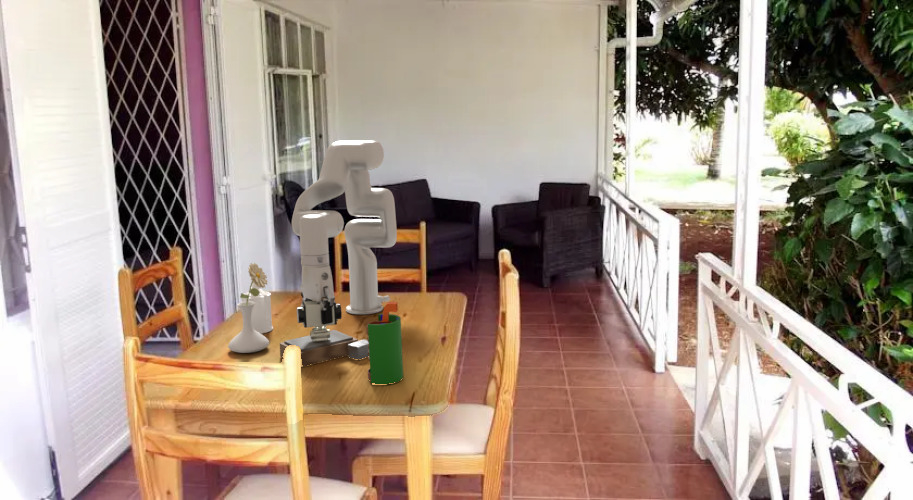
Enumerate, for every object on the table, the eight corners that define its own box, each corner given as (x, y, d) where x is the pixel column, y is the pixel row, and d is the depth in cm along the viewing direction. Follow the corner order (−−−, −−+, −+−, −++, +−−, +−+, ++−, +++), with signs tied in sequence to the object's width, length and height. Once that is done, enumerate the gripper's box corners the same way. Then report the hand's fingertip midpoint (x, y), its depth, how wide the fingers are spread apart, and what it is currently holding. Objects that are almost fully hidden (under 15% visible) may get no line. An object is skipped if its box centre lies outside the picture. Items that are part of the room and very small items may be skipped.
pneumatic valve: (342, 340, 203) (341, 298, 201) (300, 345, 199) (297, 302, 197) (339, 335, 208) (337, 294, 206) (297, 339, 205) (295, 297, 203)
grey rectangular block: (364, 352, 207) (363, 339, 207) (374, 355, 205) (373, 341, 204) (348, 358, 203) (347, 344, 202) (358, 361, 200) (357, 347, 200)
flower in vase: (247, 358, 203) (242, 270, 198) (220, 352, 209) (213, 266, 204) (282, 346, 214) (277, 262, 209) (254, 340, 220) (249, 258, 215)
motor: (368, 372, 191) (366, 298, 187) (403, 371, 192) (401, 296, 188) (367, 386, 181) (364, 308, 177) (403, 385, 182) (401, 306, 178)
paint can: (236, 330, 230) (232, 268, 226) (262, 324, 237) (258, 263, 233) (255, 337, 223) (251, 273, 219) (281, 330, 230) (277, 268, 226)
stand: (336, 343, 216) (335, 328, 215) (358, 353, 207) (357, 337, 206) (280, 356, 204) (279, 341, 203) (301, 367, 195) (300, 351, 194)
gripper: (343, 262, 197) (346, 323, 200) (311, 253, 209) (314, 311, 213) (319, 266, 192) (322, 329, 195) (287, 257, 205) (291, 316, 208)
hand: (318, 319), depth 204 cm, fingers open, 9 cm apart
